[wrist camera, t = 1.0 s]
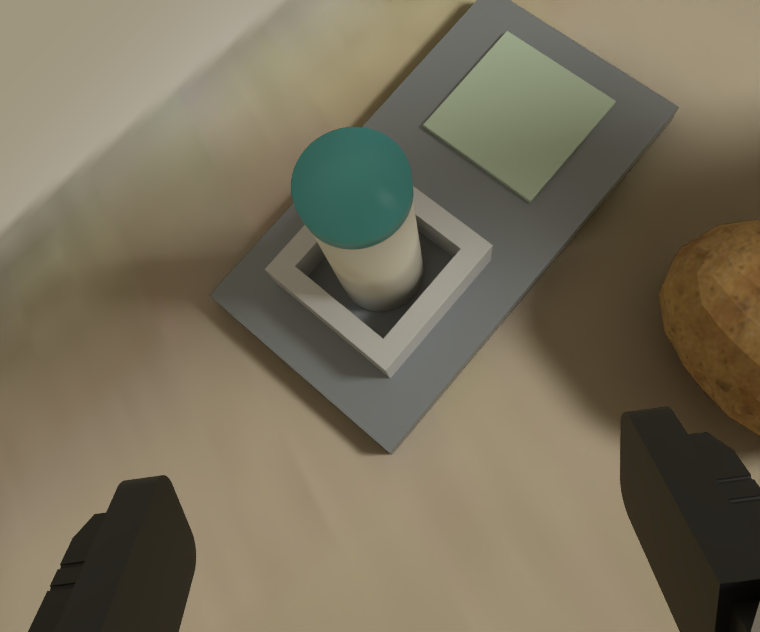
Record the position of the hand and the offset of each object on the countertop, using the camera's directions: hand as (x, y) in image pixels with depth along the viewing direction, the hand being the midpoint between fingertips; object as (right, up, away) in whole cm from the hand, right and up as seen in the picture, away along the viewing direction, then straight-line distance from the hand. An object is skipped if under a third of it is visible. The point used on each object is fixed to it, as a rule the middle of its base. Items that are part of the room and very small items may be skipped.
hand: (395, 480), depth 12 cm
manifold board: (+4, +9, +30) cm, 31 cm away
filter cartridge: (0, +5, +28) cm, 28 cm away
